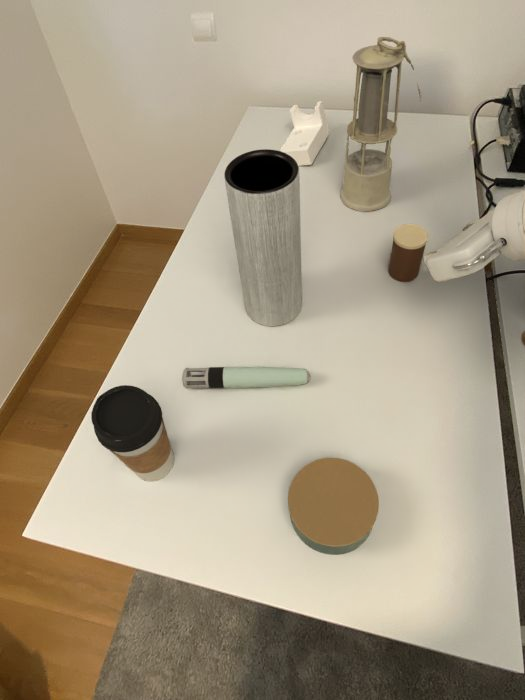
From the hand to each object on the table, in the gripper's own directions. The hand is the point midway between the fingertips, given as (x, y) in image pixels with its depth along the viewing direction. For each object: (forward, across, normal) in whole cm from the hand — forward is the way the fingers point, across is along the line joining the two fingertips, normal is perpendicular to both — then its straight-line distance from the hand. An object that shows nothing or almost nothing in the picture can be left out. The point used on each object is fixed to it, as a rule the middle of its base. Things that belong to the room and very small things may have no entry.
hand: (447, 245), depth 78 cm
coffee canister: (+13, 0, -3) cm, 13 cm away
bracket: (+42, +14, +26) cm, 52 cm away
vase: (+20, -22, +4) cm, 30 cm away
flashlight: (+14, -35, -2) cm, 38 cm away
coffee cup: (+12, -54, -4) cm, 55 cm away
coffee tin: (-3, -40, -19) cm, 44 cm away
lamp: (+26, +12, +10) cm, 31 cm away
